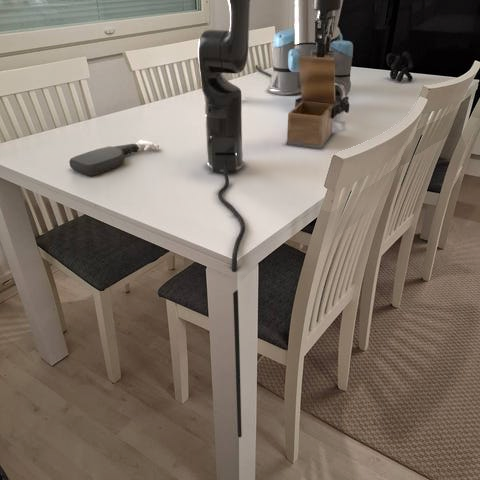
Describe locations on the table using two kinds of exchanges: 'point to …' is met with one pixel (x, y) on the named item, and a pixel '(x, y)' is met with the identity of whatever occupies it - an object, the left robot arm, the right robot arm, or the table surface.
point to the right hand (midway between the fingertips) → (315, 112)
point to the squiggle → (399, 66)
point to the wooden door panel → (317, 77)
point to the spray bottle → (106, 157)
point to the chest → (310, 124)
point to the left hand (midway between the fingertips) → (322, 56)
